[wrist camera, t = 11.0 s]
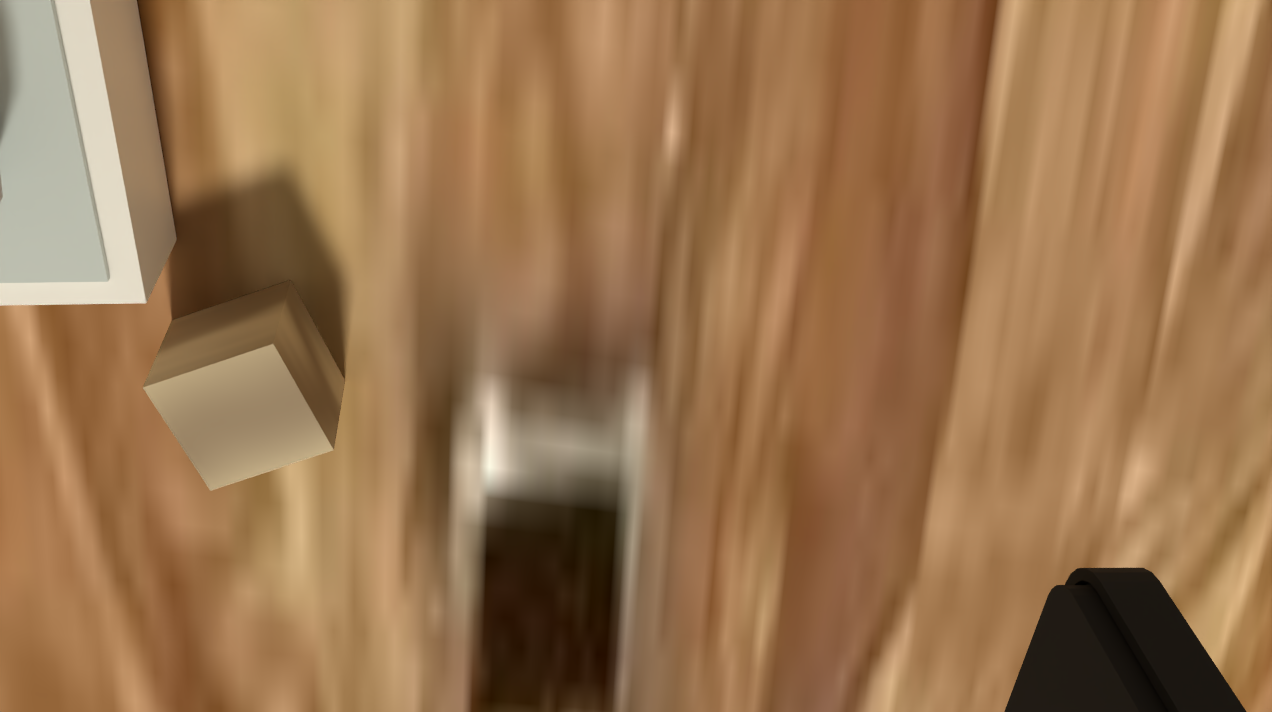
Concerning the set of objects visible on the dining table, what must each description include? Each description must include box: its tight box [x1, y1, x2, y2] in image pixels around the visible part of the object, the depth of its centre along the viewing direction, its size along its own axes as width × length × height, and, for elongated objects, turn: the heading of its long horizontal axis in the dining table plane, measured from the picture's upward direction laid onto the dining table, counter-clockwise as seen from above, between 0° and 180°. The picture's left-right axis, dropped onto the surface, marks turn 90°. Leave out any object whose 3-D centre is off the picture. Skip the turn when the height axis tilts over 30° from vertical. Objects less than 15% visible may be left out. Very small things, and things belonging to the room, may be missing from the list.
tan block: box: [143, 280, 345, 491], centre depth 36 cm, size 4×4×4 cm
